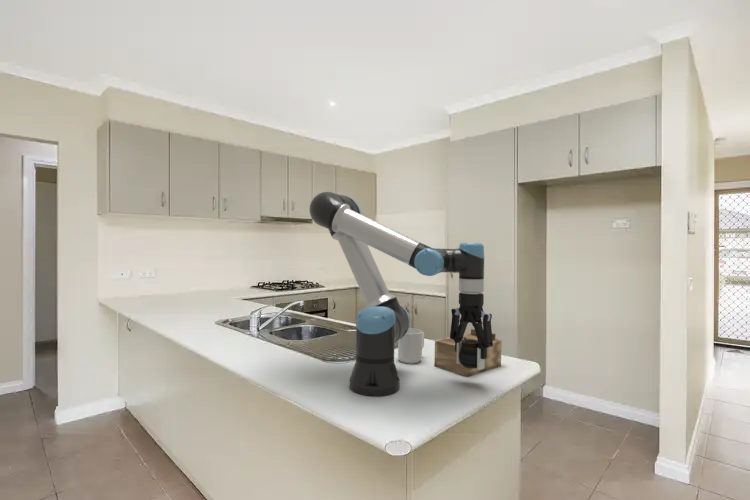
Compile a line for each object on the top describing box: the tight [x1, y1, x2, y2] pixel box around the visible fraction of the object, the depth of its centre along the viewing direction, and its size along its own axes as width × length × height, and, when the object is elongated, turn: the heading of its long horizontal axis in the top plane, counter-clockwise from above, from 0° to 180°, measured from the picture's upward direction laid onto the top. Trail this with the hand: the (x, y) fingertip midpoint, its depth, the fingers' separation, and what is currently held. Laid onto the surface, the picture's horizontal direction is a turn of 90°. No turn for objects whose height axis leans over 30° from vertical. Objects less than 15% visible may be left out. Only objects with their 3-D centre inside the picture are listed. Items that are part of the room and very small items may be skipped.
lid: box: [437, 328, 499, 349], centre depth 142 cm, size 20×12×3 cm, turn 129°
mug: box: [397, 327, 426, 365], centre depth 148 cm, size 12×9×11 cm
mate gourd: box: [459, 337, 480, 369], centre depth 123 cm, size 7×8×10 cm
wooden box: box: [433, 332, 503, 378], centre depth 142 cm, size 20×14×9 cm
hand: (470, 365), depth 123 cm, fingers closed on mate gourd, 7 cm apart
